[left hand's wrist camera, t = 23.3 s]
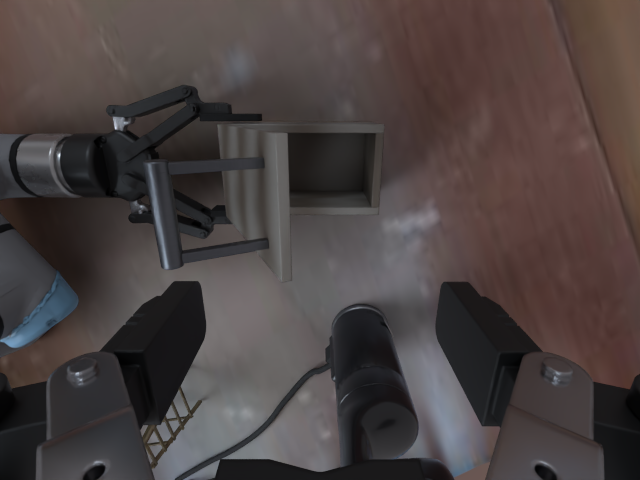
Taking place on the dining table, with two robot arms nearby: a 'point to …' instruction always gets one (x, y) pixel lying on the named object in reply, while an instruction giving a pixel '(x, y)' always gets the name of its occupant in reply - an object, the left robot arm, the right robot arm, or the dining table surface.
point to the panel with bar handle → (232, 199)
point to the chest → (331, 165)
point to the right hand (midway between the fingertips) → (262, 166)
